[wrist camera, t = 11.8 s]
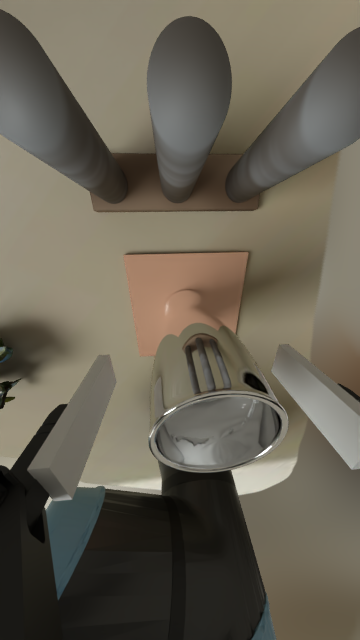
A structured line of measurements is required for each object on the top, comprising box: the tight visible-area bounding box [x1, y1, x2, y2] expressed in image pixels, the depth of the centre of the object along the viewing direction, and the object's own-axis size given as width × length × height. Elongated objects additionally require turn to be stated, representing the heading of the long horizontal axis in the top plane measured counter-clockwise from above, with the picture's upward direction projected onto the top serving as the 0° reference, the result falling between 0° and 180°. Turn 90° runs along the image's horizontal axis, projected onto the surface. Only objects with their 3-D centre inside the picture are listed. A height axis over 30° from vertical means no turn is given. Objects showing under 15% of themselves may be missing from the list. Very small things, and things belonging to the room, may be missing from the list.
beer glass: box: [148, 290, 289, 473], centre depth 14 cm, size 7×7×15 cm
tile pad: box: [124, 252, 249, 356], centre depth 21 cm, size 14×14×1 cm
